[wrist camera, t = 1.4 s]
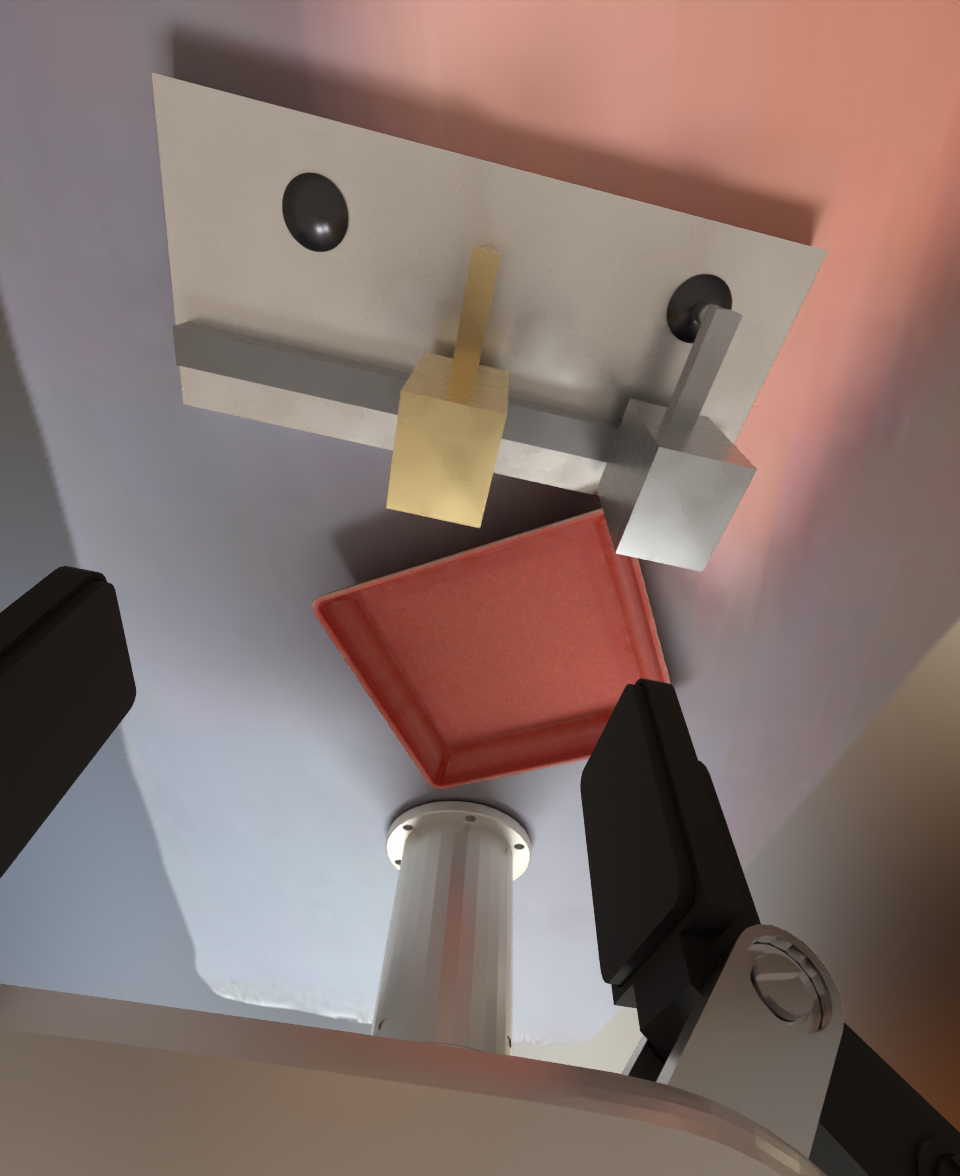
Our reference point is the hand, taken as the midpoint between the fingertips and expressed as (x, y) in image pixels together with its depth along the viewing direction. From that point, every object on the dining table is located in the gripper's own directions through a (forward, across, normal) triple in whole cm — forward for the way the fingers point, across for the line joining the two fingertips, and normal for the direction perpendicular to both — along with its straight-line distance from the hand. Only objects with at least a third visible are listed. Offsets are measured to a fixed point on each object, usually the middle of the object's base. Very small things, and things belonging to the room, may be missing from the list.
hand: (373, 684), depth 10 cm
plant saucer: (+21, -6, +15) cm, 26 cm away
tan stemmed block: (+18, 0, -2) cm, 18 cm away
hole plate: (+20, 0, -3) cm, 20 cm away
